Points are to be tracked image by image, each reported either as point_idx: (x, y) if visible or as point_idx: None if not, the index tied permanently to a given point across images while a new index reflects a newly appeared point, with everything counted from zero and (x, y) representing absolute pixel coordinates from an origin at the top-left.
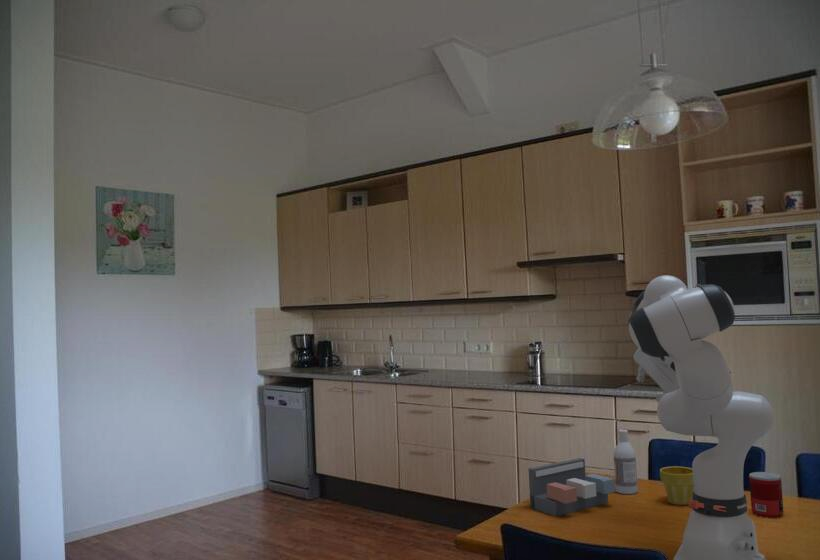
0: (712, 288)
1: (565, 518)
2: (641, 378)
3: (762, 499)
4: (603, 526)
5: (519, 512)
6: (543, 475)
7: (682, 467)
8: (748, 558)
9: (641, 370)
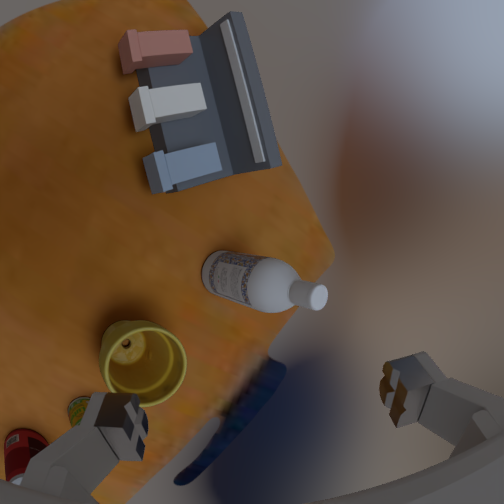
0: None
1: (114, 60)
2: (401, 393)
3: (9, 453)
4: (37, 97)
5: (184, 20)
6: (226, 44)
7: (172, 391)
8: None
9: (470, 420)
